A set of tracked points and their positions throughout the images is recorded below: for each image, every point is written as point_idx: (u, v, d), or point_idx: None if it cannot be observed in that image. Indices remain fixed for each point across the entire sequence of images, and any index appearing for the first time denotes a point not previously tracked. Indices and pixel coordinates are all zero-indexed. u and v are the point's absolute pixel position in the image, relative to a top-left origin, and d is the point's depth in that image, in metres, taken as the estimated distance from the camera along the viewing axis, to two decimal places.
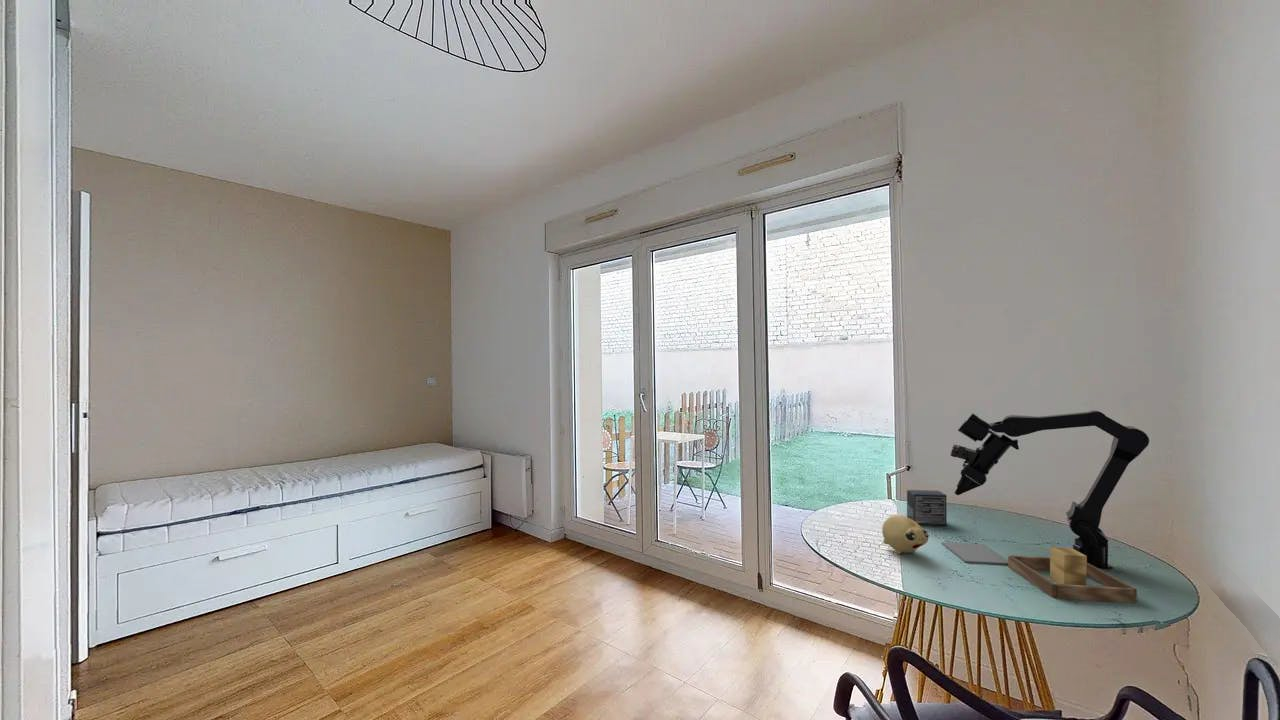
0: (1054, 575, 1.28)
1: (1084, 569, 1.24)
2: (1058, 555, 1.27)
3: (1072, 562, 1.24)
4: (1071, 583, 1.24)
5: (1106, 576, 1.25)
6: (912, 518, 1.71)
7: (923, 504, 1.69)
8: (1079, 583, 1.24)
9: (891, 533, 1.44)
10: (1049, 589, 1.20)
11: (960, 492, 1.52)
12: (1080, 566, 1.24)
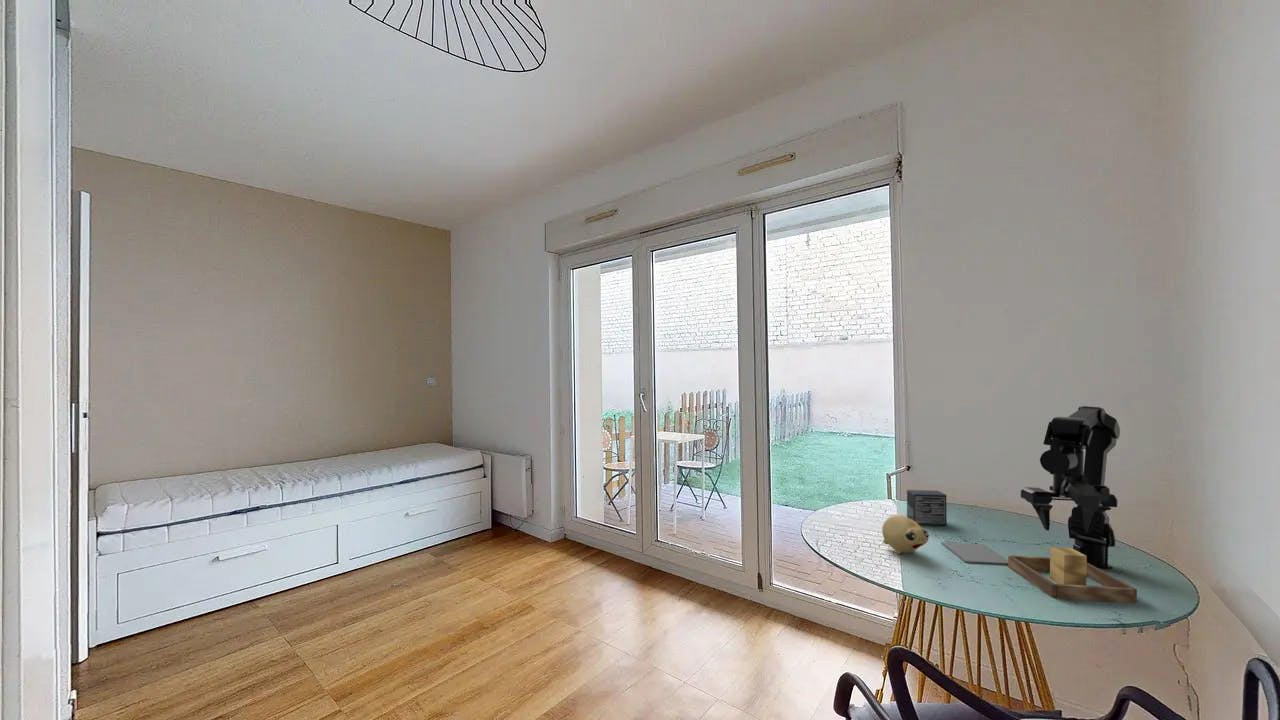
0: (1054, 575, 1.28)
1: (1084, 569, 1.24)
2: (1058, 555, 1.27)
3: (1072, 562, 1.24)
4: (1071, 583, 1.24)
5: (1106, 576, 1.25)
6: (912, 518, 1.71)
7: (923, 504, 1.69)
8: (1079, 583, 1.24)
9: (891, 533, 1.44)
10: (1049, 589, 1.20)
11: None
12: (1080, 566, 1.24)
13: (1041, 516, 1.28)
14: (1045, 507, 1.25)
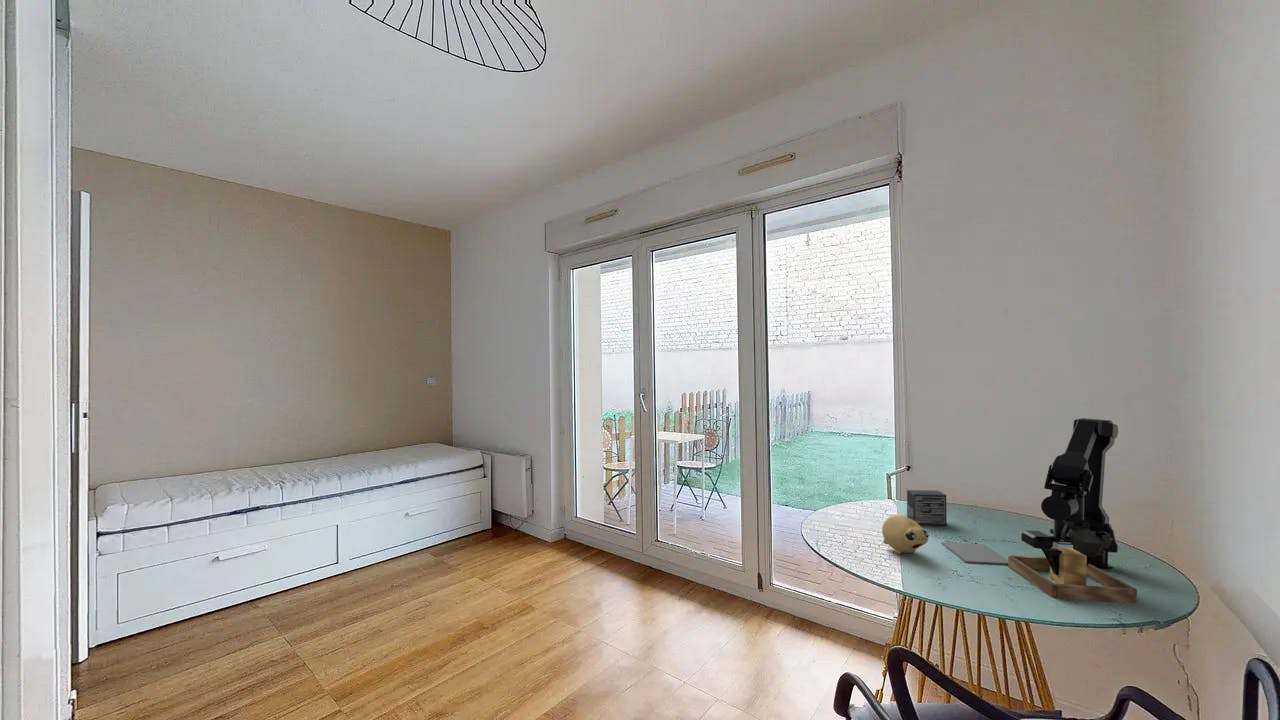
0: (1054, 575, 1.28)
1: (1084, 569, 1.24)
2: None
3: (1072, 562, 1.24)
4: (1071, 583, 1.24)
5: (1106, 576, 1.25)
6: (912, 518, 1.71)
7: (923, 504, 1.69)
8: (1079, 583, 1.24)
9: (891, 533, 1.44)
10: (1049, 589, 1.20)
11: None
12: (1080, 566, 1.24)
13: (1050, 560, 1.27)
14: (1055, 552, 1.25)
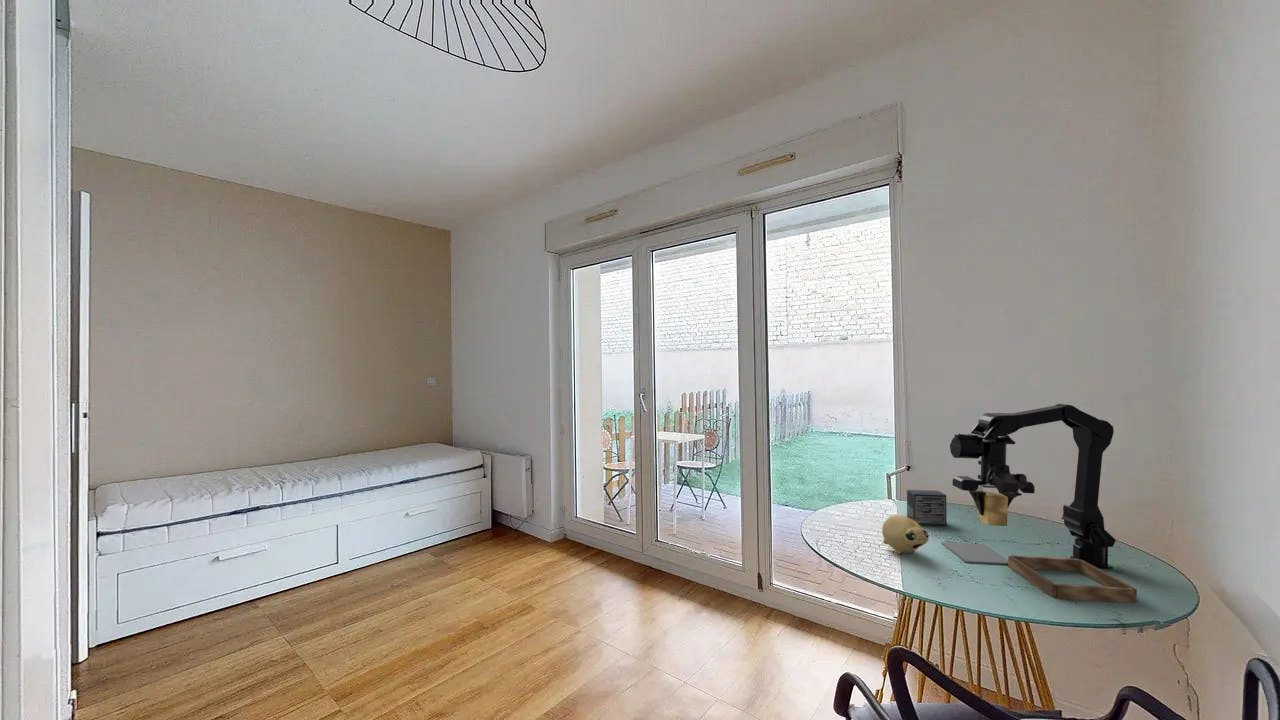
0: (980, 516, 1.42)
1: (1005, 509, 1.38)
2: None
3: (995, 503, 1.39)
4: (994, 521, 1.39)
5: (1106, 576, 1.25)
6: (912, 518, 1.71)
7: (923, 504, 1.69)
8: (1001, 521, 1.39)
9: (891, 533, 1.44)
10: (1049, 589, 1.20)
11: None
12: (1002, 506, 1.39)
13: (977, 502, 1.42)
14: (980, 494, 1.39)
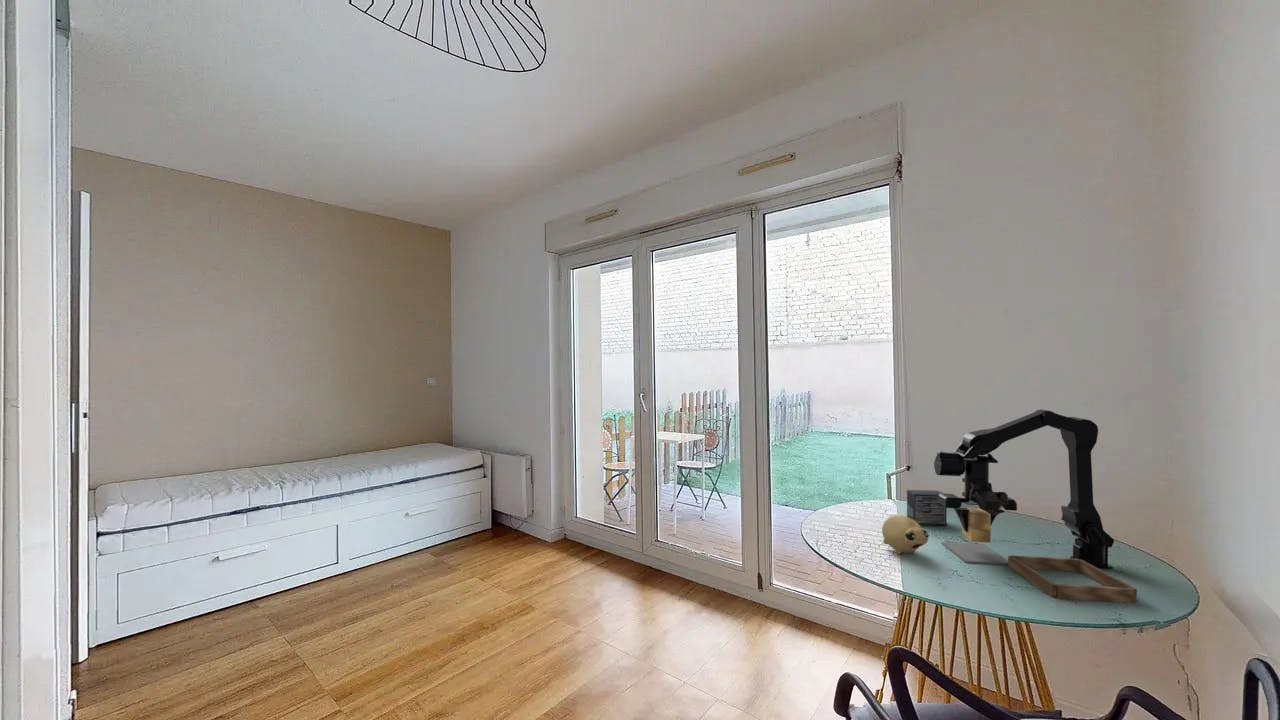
0: (965, 532, 1.46)
1: (988, 525, 1.42)
2: None
3: (978, 520, 1.43)
4: (977, 538, 1.43)
5: (1106, 576, 1.25)
6: (912, 518, 1.71)
7: (923, 504, 1.69)
8: (984, 538, 1.42)
9: (891, 533, 1.44)
10: (1049, 589, 1.20)
11: None
12: (985, 523, 1.42)
13: (961, 519, 1.46)
14: (963, 511, 1.43)
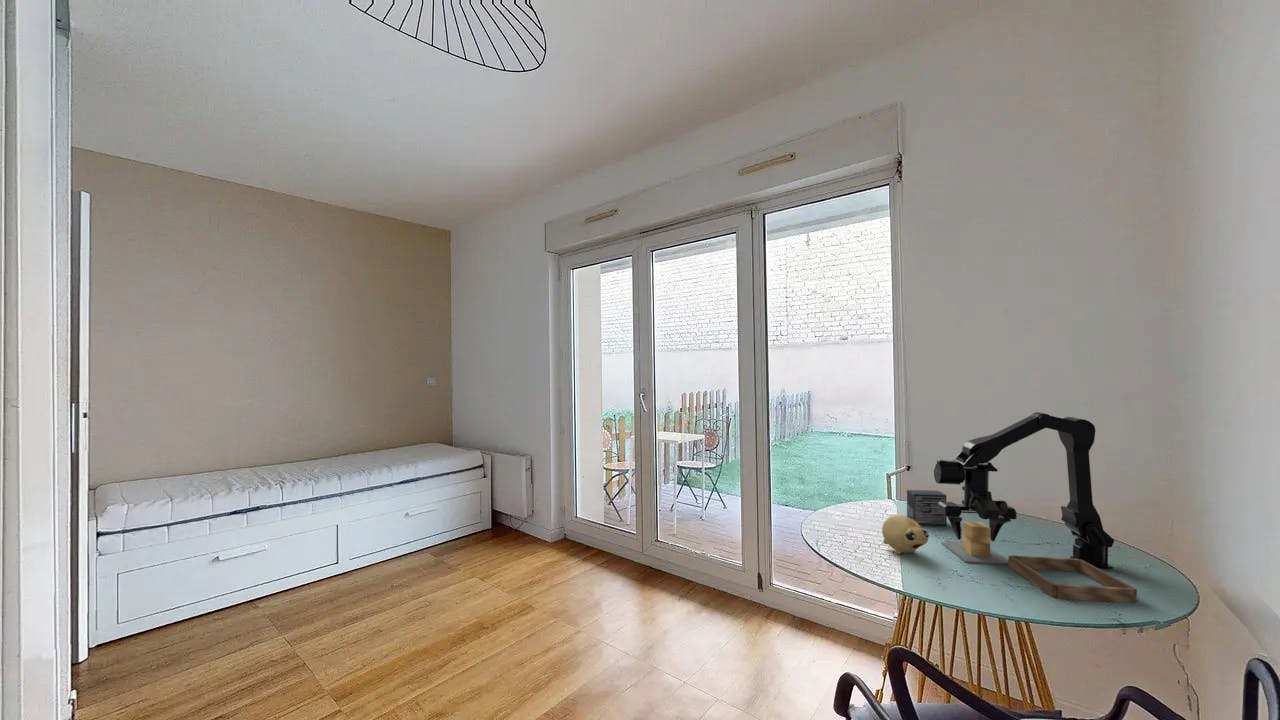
0: (964, 545, 1.46)
1: (988, 539, 1.42)
2: (967, 527, 1.45)
3: (978, 533, 1.43)
4: (977, 551, 1.43)
5: (1106, 576, 1.25)
6: (912, 518, 1.71)
7: (923, 504, 1.69)
8: (984, 551, 1.43)
9: (891, 533, 1.44)
10: (1049, 589, 1.20)
11: None
12: (985, 536, 1.42)
13: (954, 527, 1.46)
14: (956, 519, 1.43)
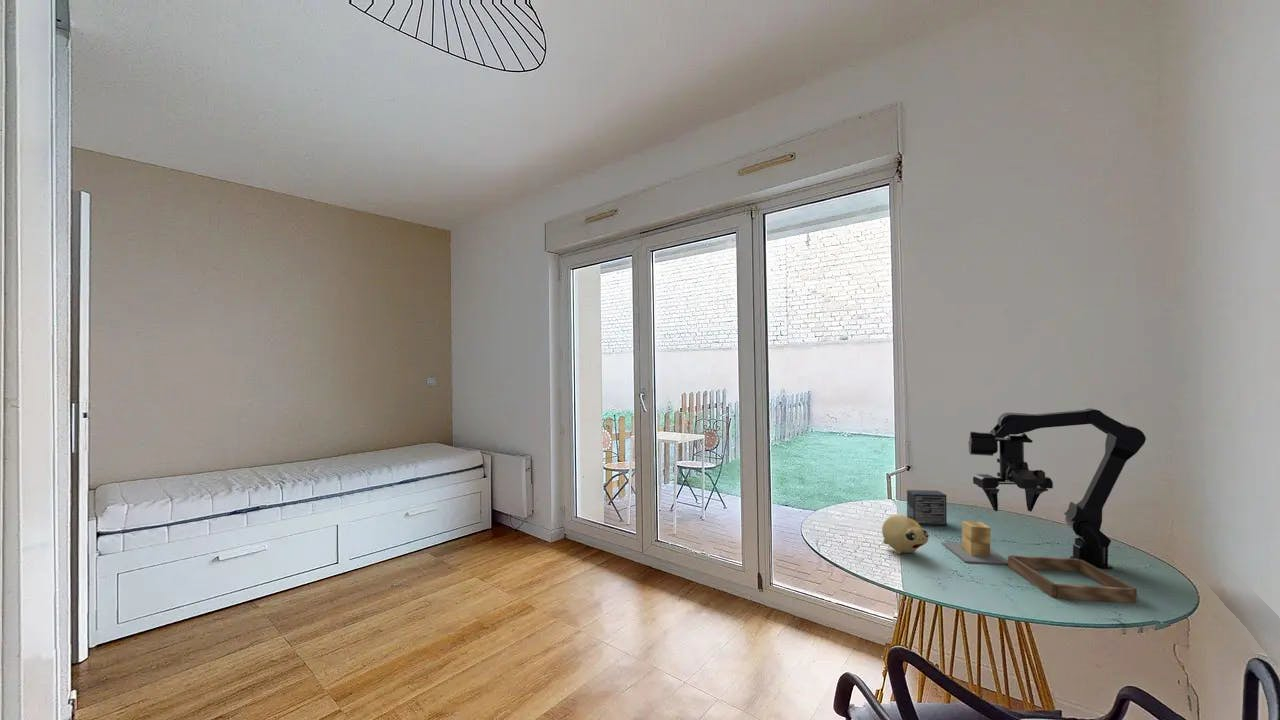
0: (964, 545, 1.46)
1: (988, 539, 1.42)
2: (967, 527, 1.45)
3: (978, 533, 1.43)
4: (977, 551, 1.43)
5: (1106, 576, 1.25)
6: (912, 518, 1.71)
7: (923, 504, 1.69)
8: (984, 551, 1.43)
9: (891, 533, 1.44)
10: (1049, 589, 1.20)
11: None
12: (985, 536, 1.42)
13: (990, 499, 1.47)
14: (993, 491, 1.45)
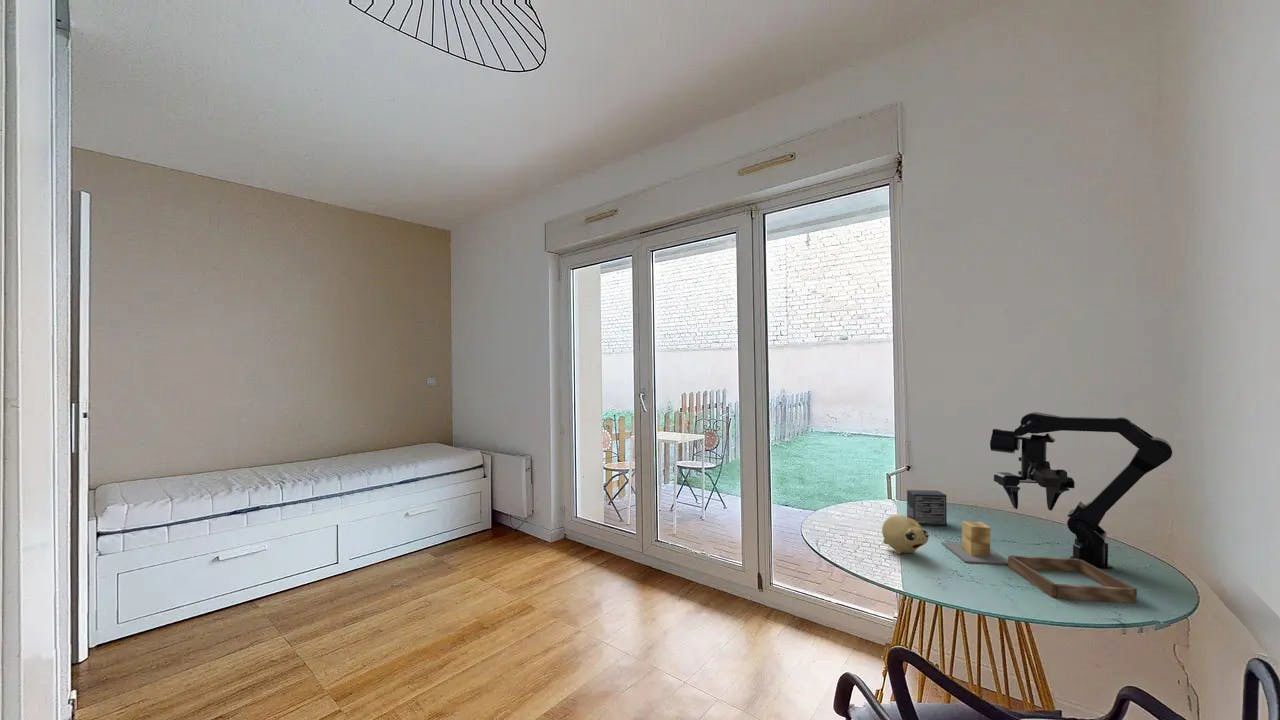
0: (964, 545, 1.46)
1: (988, 539, 1.42)
2: (967, 527, 1.45)
3: (978, 533, 1.43)
4: (977, 551, 1.43)
5: (1106, 576, 1.25)
6: (912, 518, 1.71)
7: (923, 504, 1.69)
8: (984, 551, 1.43)
9: (891, 533, 1.44)
10: (1049, 589, 1.20)
11: None
12: (985, 536, 1.42)
13: (1011, 497, 1.49)
14: (1014, 489, 1.46)
